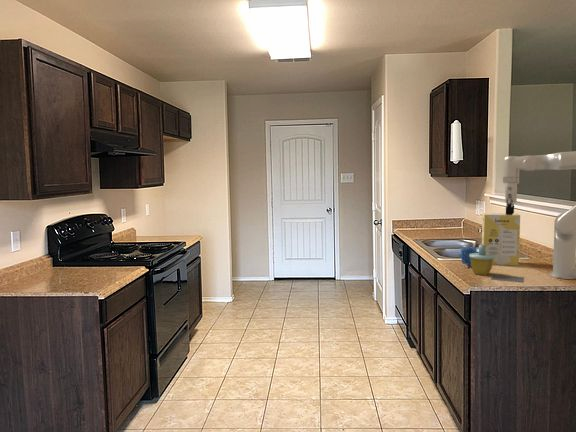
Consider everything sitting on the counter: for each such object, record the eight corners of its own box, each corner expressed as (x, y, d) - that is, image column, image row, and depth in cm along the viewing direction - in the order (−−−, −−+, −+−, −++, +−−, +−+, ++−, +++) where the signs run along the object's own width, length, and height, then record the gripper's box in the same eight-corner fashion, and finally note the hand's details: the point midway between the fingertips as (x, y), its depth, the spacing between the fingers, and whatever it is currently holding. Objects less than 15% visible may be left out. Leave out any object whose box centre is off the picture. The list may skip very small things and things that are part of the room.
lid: (495, 256, 244) (496, 244, 243) (493, 260, 233) (494, 247, 233) (471, 254, 249) (471, 242, 249) (467, 258, 239) (468, 246, 238)
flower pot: (475, 272, 248) (476, 255, 247) (493, 274, 243) (493, 256, 242) (469, 275, 242) (470, 257, 241) (487, 277, 236) (488, 259, 235)
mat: (524, 278, 233) (524, 277, 233) (523, 283, 222) (523, 282, 222) (493, 275, 240) (493, 274, 240) (490, 280, 229) (490, 279, 229)
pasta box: (515, 262, 274) (516, 213, 271) (518, 265, 264) (520, 215, 261) (481, 260, 279) (482, 213, 276) (483, 264, 269) (484, 214, 266)
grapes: (461, 268, 257) (461, 246, 256) (457, 266, 264) (458, 244, 262) (483, 268, 256) (483, 246, 255) (479, 266, 263) (479, 244, 261)
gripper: (518, 181, 233) (517, 215, 235) (519, 180, 248) (518, 212, 250) (501, 181, 237) (500, 215, 239) (504, 180, 252) (503, 212, 254)
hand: (509, 214), depth 244 cm, fingers open, 9 cm apart
